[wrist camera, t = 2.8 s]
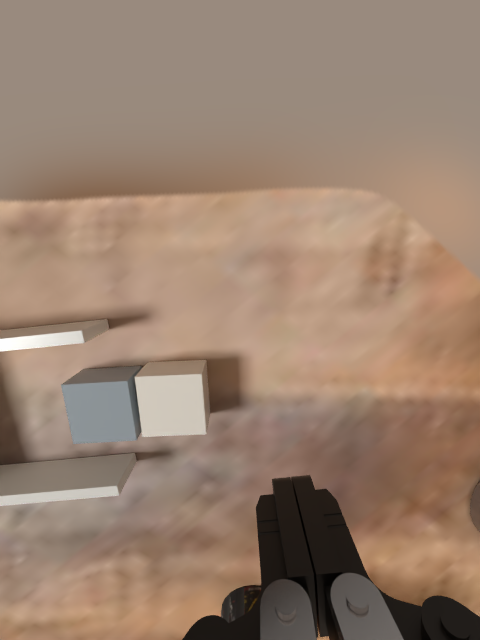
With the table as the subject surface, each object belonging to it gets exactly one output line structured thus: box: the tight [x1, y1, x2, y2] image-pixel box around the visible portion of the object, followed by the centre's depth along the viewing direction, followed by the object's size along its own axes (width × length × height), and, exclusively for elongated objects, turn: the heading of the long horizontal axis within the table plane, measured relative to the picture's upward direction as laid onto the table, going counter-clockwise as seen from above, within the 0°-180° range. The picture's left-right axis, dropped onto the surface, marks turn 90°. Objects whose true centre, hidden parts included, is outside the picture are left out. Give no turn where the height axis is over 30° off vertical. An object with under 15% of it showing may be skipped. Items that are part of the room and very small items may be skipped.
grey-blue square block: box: [61, 366, 142, 444], centre depth 21 cm, size 4×4×3 cm
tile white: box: [135, 360, 210, 437], centre depth 21 cm, size 4×4×3 cm
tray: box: [0, 319, 137, 506], centre depth 21 cm, size 13×12×4 cm
